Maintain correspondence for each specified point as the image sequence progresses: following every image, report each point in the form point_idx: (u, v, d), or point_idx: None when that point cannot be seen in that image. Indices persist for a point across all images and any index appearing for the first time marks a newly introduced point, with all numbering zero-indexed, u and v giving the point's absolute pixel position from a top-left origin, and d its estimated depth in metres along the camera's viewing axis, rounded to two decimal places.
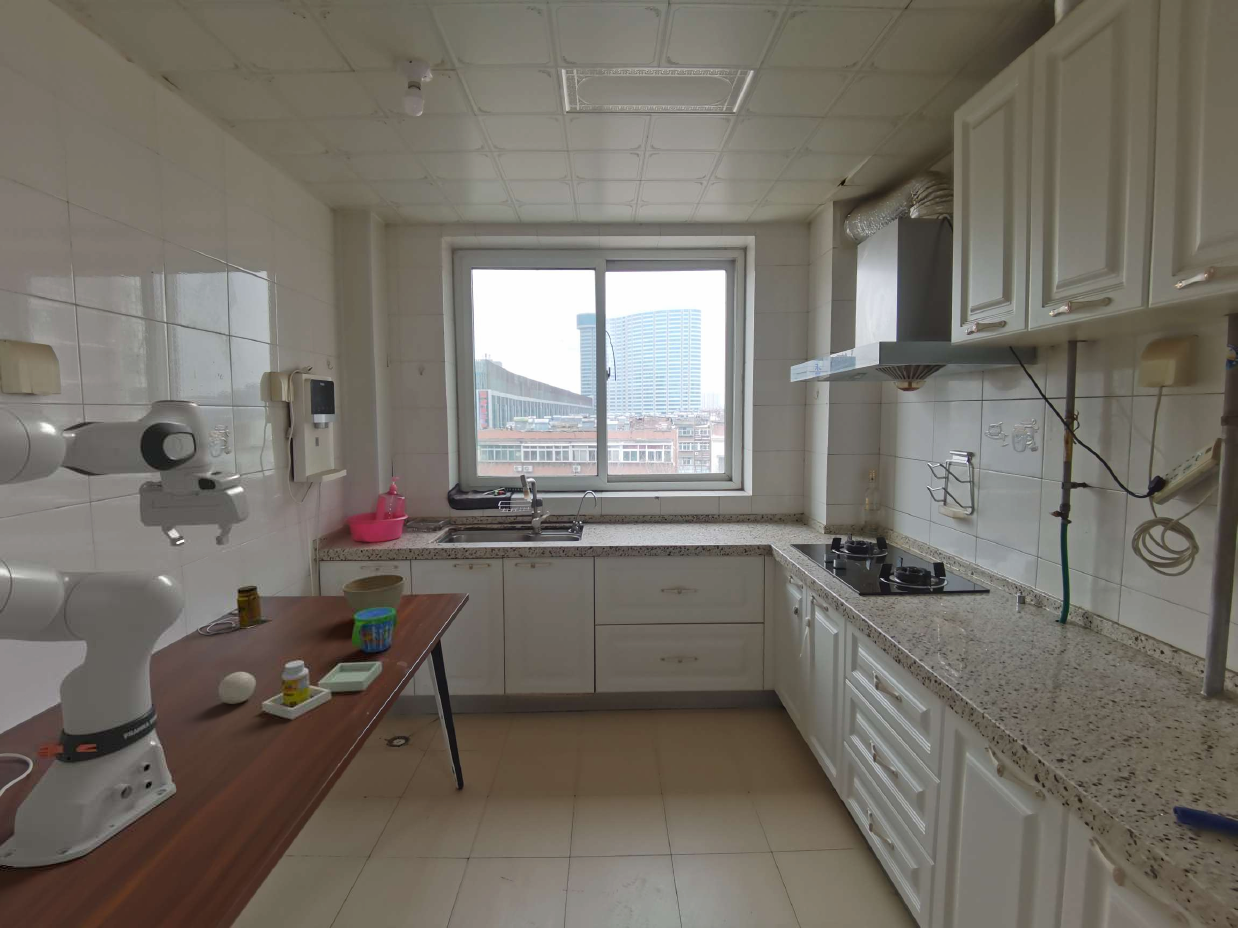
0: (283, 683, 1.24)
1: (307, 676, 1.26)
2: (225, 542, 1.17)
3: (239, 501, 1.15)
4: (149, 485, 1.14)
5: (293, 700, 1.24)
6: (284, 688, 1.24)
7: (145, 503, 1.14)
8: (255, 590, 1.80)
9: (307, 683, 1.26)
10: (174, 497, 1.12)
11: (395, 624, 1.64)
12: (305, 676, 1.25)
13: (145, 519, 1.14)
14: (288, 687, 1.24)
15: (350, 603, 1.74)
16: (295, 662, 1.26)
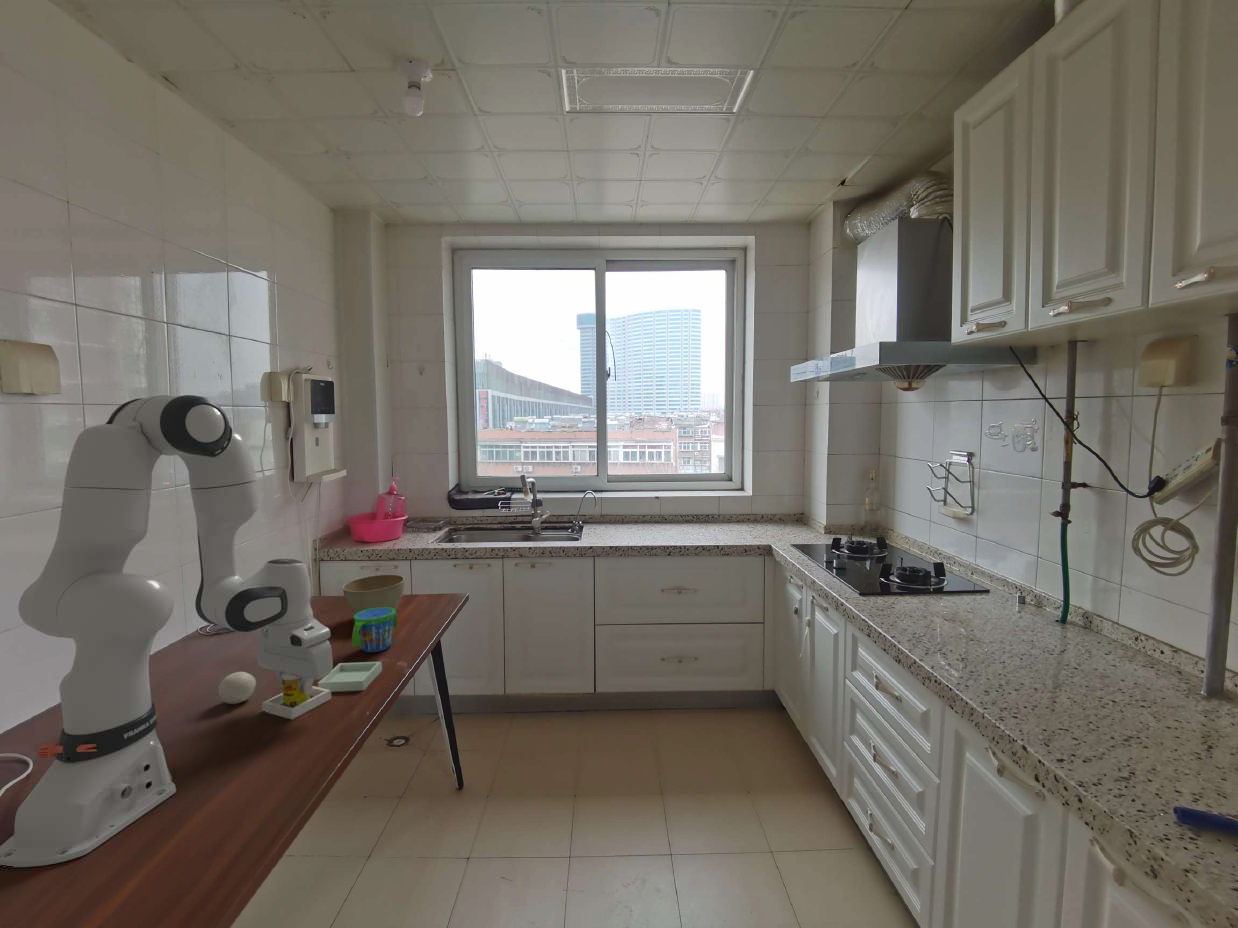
0: (283, 683, 1.24)
1: None
2: (307, 692, 1.24)
3: (321, 658, 1.21)
4: (266, 630, 1.28)
5: (293, 700, 1.24)
6: (284, 688, 1.24)
7: (261, 646, 1.27)
8: None
9: None
10: (276, 647, 1.23)
11: (395, 624, 1.64)
12: None
13: (260, 660, 1.28)
14: (287, 687, 1.24)
15: (350, 603, 1.74)
16: None
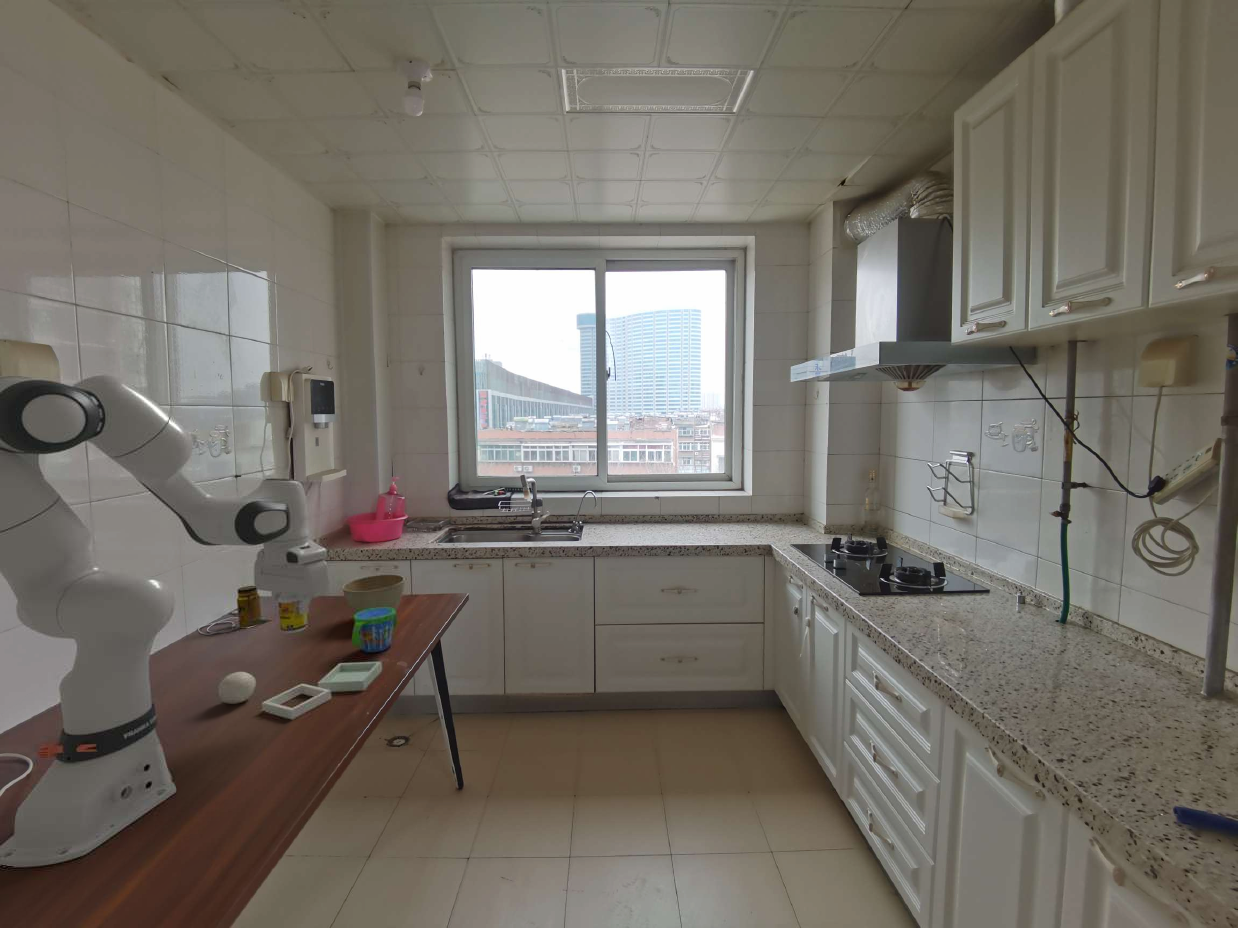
0: (280, 606, 1.23)
1: None
2: (304, 612, 1.23)
3: (318, 576, 1.20)
4: (262, 552, 1.27)
5: (290, 624, 1.23)
6: (281, 611, 1.23)
7: (257, 568, 1.26)
8: (255, 590, 1.80)
9: None
10: (272, 566, 1.22)
11: (395, 624, 1.64)
12: None
13: (256, 583, 1.27)
14: (284, 610, 1.23)
15: (350, 603, 1.74)
16: None
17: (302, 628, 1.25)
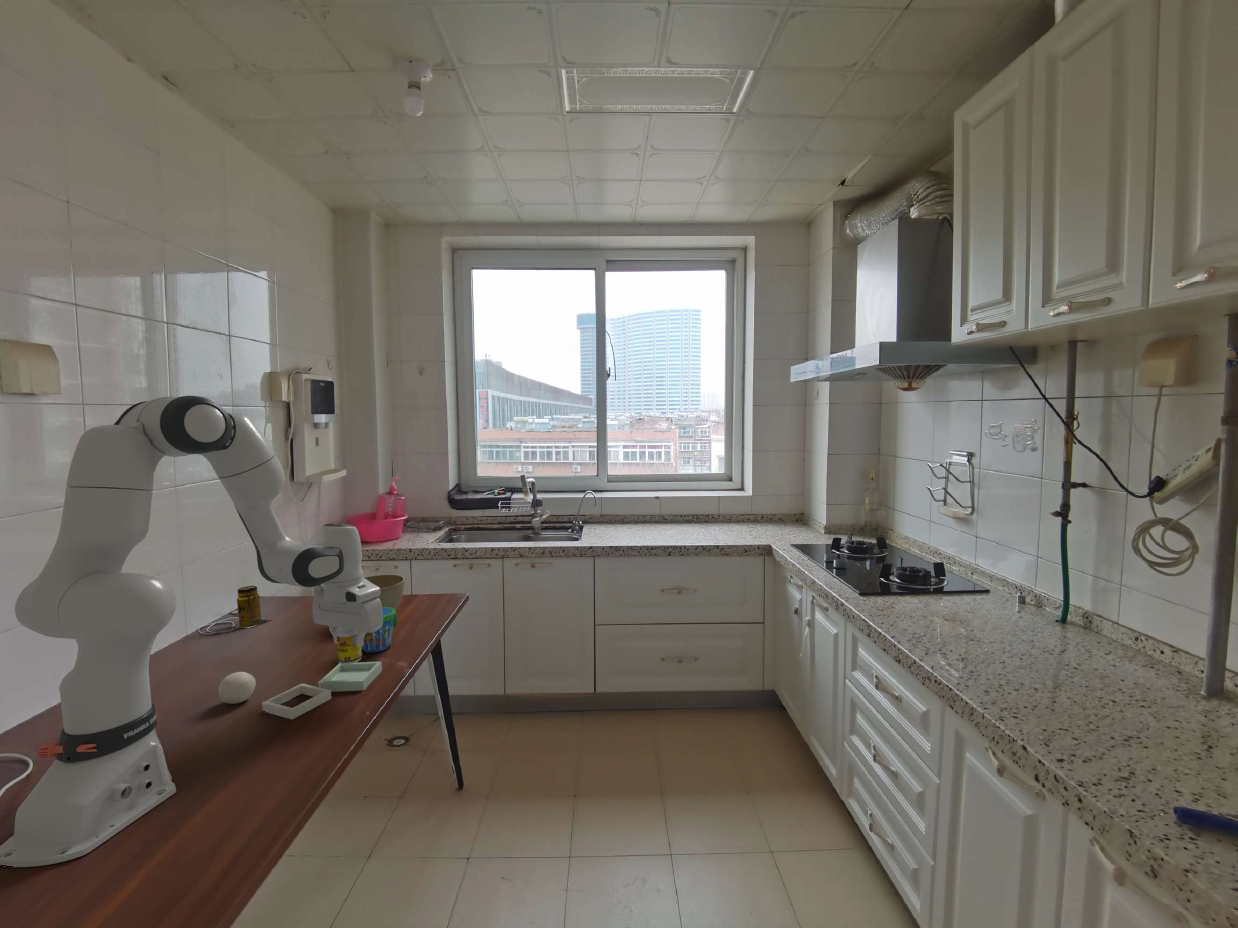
0: (338, 640, 1.35)
1: None
2: (359, 645, 1.35)
3: (374, 613, 1.32)
4: (320, 589, 1.39)
5: (347, 656, 1.35)
6: (339, 644, 1.35)
7: (315, 604, 1.38)
8: (255, 590, 1.80)
9: None
10: (331, 604, 1.34)
11: (395, 624, 1.64)
12: None
13: (315, 617, 1.38)
14: (342, 643, 1.34)
15: None
16: None
17: (358, 659, 1.36)
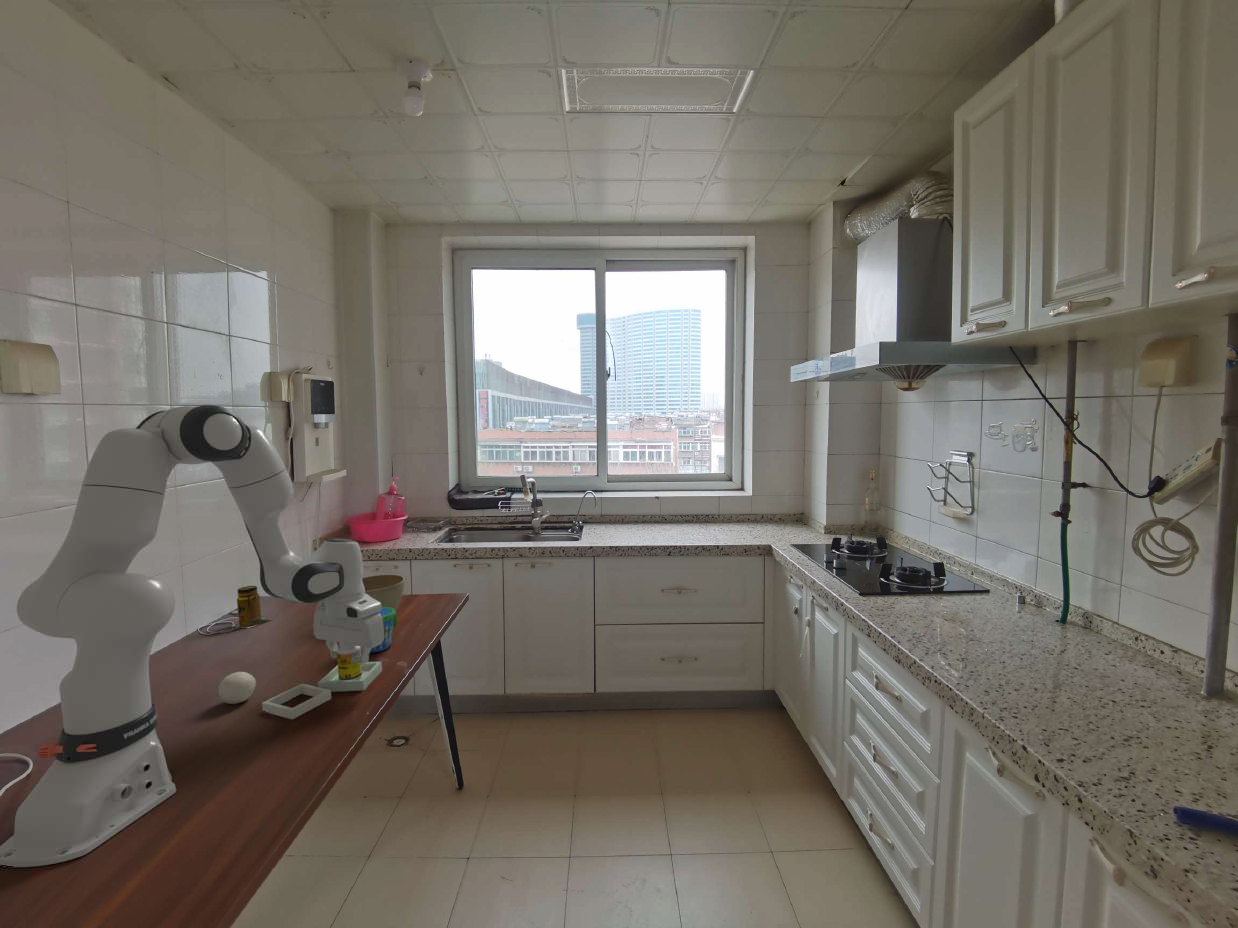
0: (338, 657, 1.35)
1: (359, 651, 1.37)
2: (365, 661, 1.35)
3: (375, 629, 1.32)
4: (321, 604, 1.39)
5: (347, 673, 1.35)
6: (339, 662, 1.35)
7: (316, 619, 1.38)
8: (255, 590, 1.80)
9: None
10: (332, 619, 1.34)
11: (395, 624, 1.64)
12: (358, 651, 1.36)
13: (316, 632, 1.39)
14: (343, 661, 1.34)
15: None
16: None
17: (358, 677, 1.36)
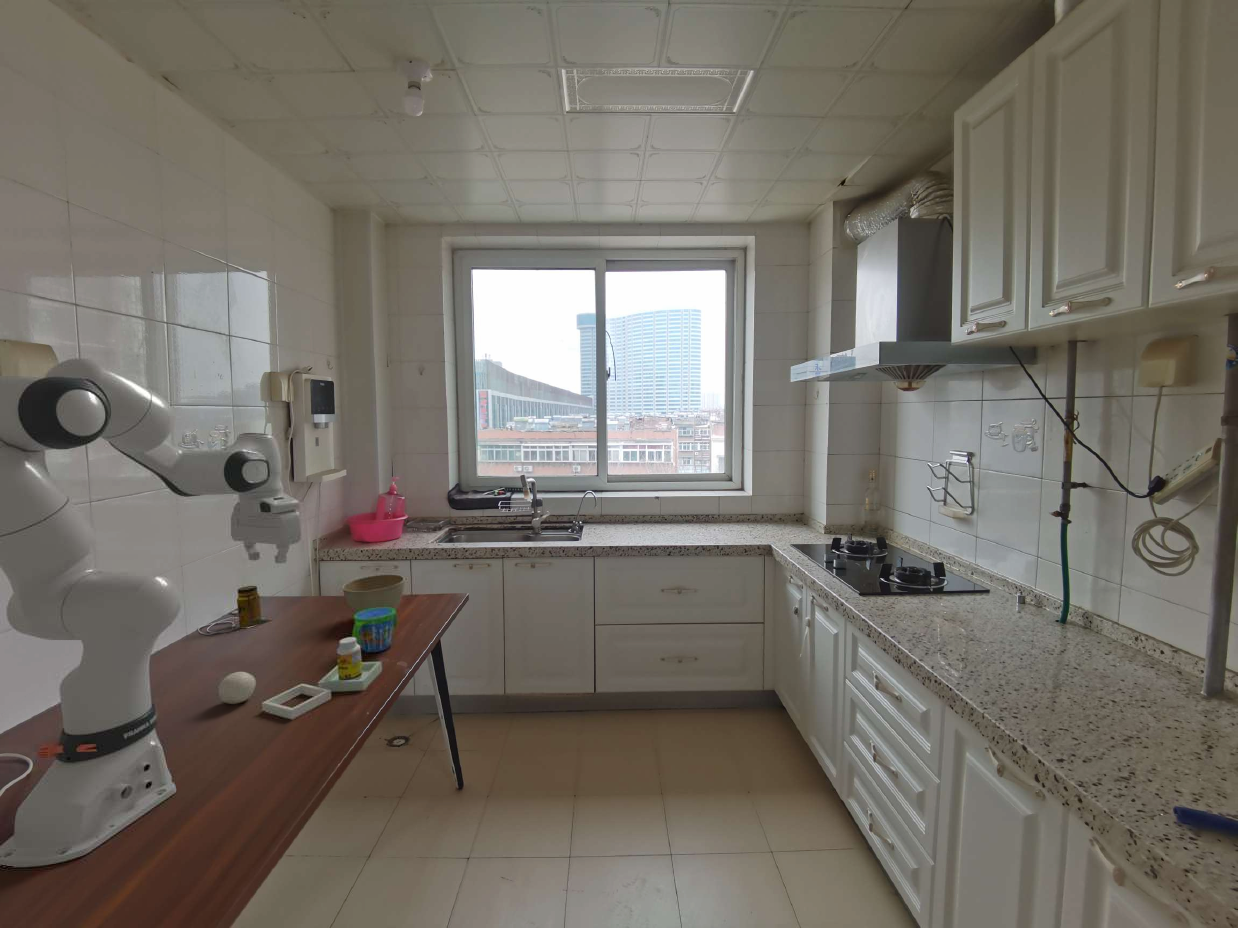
0: (338, 657, 1.35)
1: (359, 651, 1.37)
2: (281, 561, 1.29)
3: (290, 525, 1.27)
4: (239, 505, 1.34)
5: (347, 673, 1.35)
6: (339, 662, 1.35)
7: (233, 520, 1.33)
8: (255, 590, 1.80)
9: (359, 658, 1.37)
10: (247, 517, 1.29)
11: (395, 624, 1.64)
12: (358, 651, 1.36)
13: (233, 534, 1.33)
14: (342, 661, 1.34)
15: (350, 603, 1.74)
16: (348, 638, 1.37)
17: (358, 677, 1.36)
